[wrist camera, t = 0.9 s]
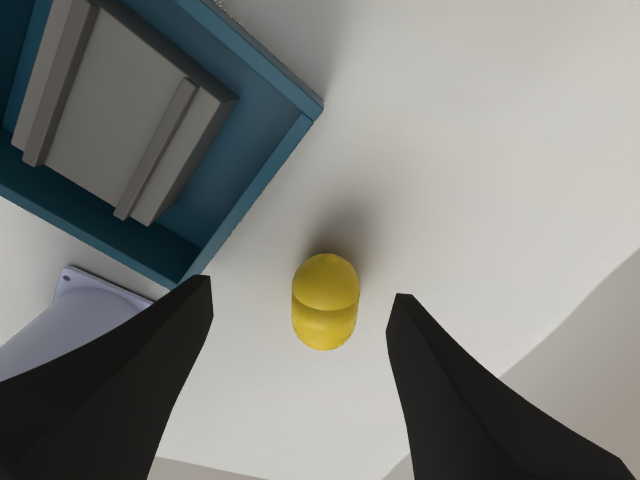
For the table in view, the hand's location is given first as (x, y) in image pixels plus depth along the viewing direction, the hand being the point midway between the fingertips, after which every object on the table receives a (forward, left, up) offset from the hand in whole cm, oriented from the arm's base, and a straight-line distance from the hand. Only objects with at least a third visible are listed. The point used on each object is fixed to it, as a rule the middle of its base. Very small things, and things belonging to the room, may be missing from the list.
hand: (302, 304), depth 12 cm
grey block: (0, +11, -9) cm, 14 cm away
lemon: (-4, -4, -10) cm, 11 cm away
